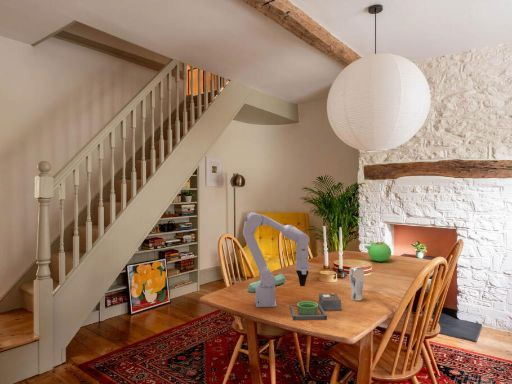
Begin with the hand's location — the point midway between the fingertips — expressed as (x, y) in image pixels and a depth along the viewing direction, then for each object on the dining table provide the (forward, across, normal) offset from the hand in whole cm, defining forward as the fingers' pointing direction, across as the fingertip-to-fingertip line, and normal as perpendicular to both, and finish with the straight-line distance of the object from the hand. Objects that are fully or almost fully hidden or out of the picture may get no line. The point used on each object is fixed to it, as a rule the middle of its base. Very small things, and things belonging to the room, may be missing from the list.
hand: (302, 285), depth 162 cm
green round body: (+8, +88, -67) cm, 111 cm away
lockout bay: (+8, -15, 0) cm, 17 cm away
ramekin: (+8, -16, 0) cm, 18 cm away
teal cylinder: (+8, +24, +17) cm, 31 cm away
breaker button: (+6, -7, -10) cm, 13 cm away
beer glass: (+8, +4, -27) cm, 28 cm away
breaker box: (+8, -6, -12) cm, 15 cm away
